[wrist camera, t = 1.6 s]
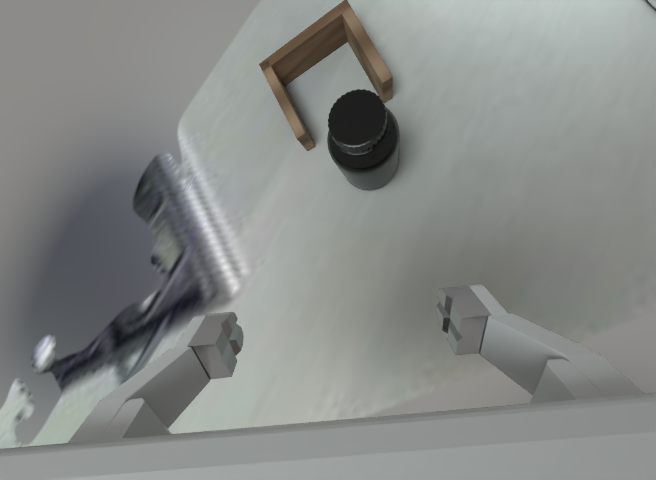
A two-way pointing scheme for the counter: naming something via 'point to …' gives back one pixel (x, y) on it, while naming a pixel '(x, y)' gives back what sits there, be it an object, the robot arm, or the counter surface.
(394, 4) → the counter surface
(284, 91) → the walnut holder
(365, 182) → the supplement bottle
